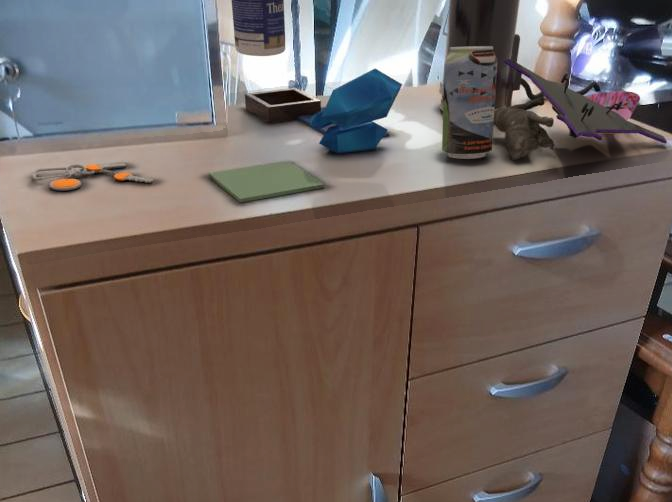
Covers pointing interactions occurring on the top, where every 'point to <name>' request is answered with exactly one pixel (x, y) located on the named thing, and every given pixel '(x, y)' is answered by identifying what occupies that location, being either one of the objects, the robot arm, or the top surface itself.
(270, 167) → the mat
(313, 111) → the holder
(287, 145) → the top surface
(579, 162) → the top surface
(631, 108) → the headband
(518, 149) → the dog figurine
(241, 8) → the pill bottle
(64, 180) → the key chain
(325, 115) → the blue faceted sculpture
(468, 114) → the beverage can
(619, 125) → the toy airplane
